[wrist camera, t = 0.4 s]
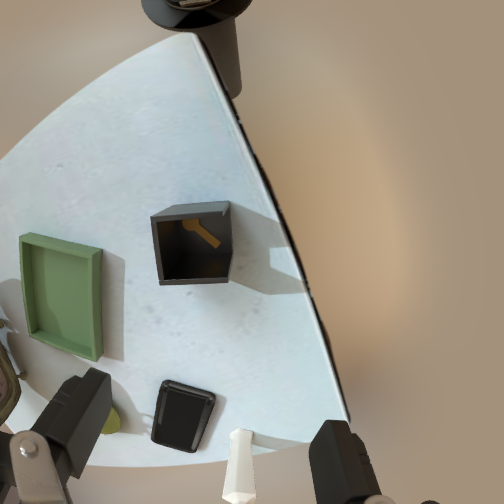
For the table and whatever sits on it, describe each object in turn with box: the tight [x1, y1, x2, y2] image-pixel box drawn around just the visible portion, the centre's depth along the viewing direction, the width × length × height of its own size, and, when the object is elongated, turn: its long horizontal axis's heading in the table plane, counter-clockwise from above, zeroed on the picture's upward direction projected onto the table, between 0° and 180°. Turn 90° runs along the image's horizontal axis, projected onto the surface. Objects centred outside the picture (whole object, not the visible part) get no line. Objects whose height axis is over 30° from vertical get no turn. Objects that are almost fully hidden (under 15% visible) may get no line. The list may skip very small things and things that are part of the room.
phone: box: [151, 380, 215, 453], centre depth 39 cm, size 8×1×15 cm
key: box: [182, 219, 221, 248], centre depth 31 cm, size 5×2×1 cm, turn 48°
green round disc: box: [101, 407, 121, 434], centre depth 38 cm, size 11×11×2 cm
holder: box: [150, 201, 233, 285], centre depth 28 cm, size 6×6×8 cm
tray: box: [19, 232, 103, 362], centre depth 33 cm, size 15×12×2 cm
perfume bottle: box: [222, 428, 256, 504], centre depth 33 cm, size 5×4×15 cm
